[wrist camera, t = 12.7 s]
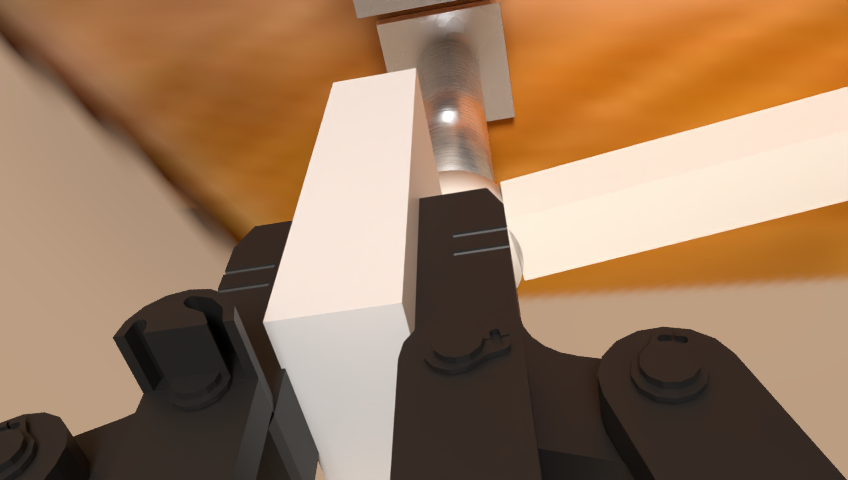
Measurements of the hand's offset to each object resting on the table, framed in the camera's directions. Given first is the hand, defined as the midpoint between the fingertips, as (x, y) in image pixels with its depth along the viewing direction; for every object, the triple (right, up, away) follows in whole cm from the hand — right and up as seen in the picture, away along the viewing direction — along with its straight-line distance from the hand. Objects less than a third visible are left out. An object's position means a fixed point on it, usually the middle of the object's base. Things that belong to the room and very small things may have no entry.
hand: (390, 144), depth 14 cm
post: (+2, +7, +25) cm, 26 cm away
